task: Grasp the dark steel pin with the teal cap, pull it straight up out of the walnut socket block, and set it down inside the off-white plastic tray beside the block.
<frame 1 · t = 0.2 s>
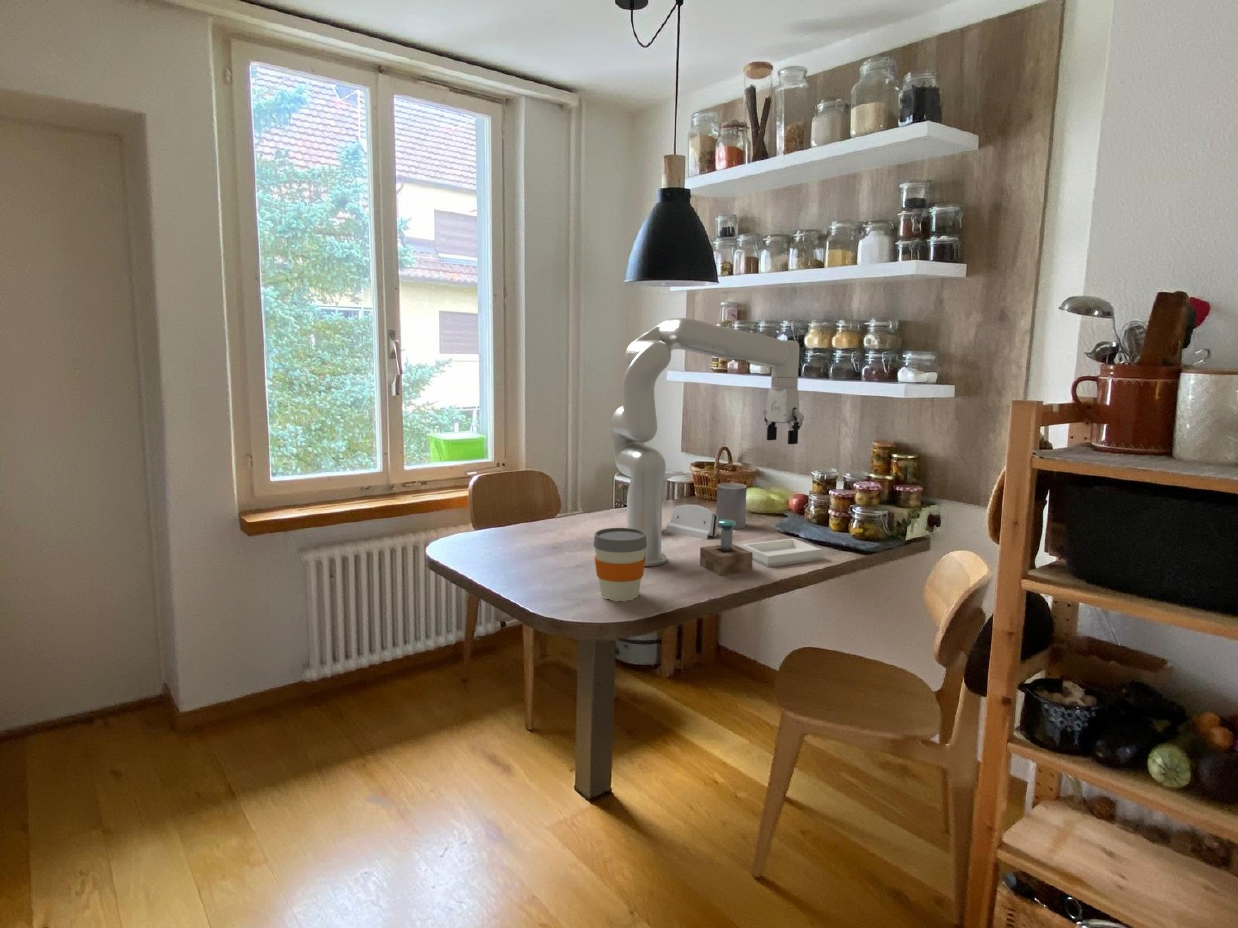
hand: (781, 442, 219), 31 cm above the table, fingers open, 9 cm apart
tray: (780, 557, 211), on the table
hinge: (692, 533, 238), on the table
steel pin: (726, 544, 199), in the socket block
pillar candle: (730, 526, 247), on the table
reusable coffee cup: (619, 595, 178), on the table
socket block: (725, 568, 200), on the table
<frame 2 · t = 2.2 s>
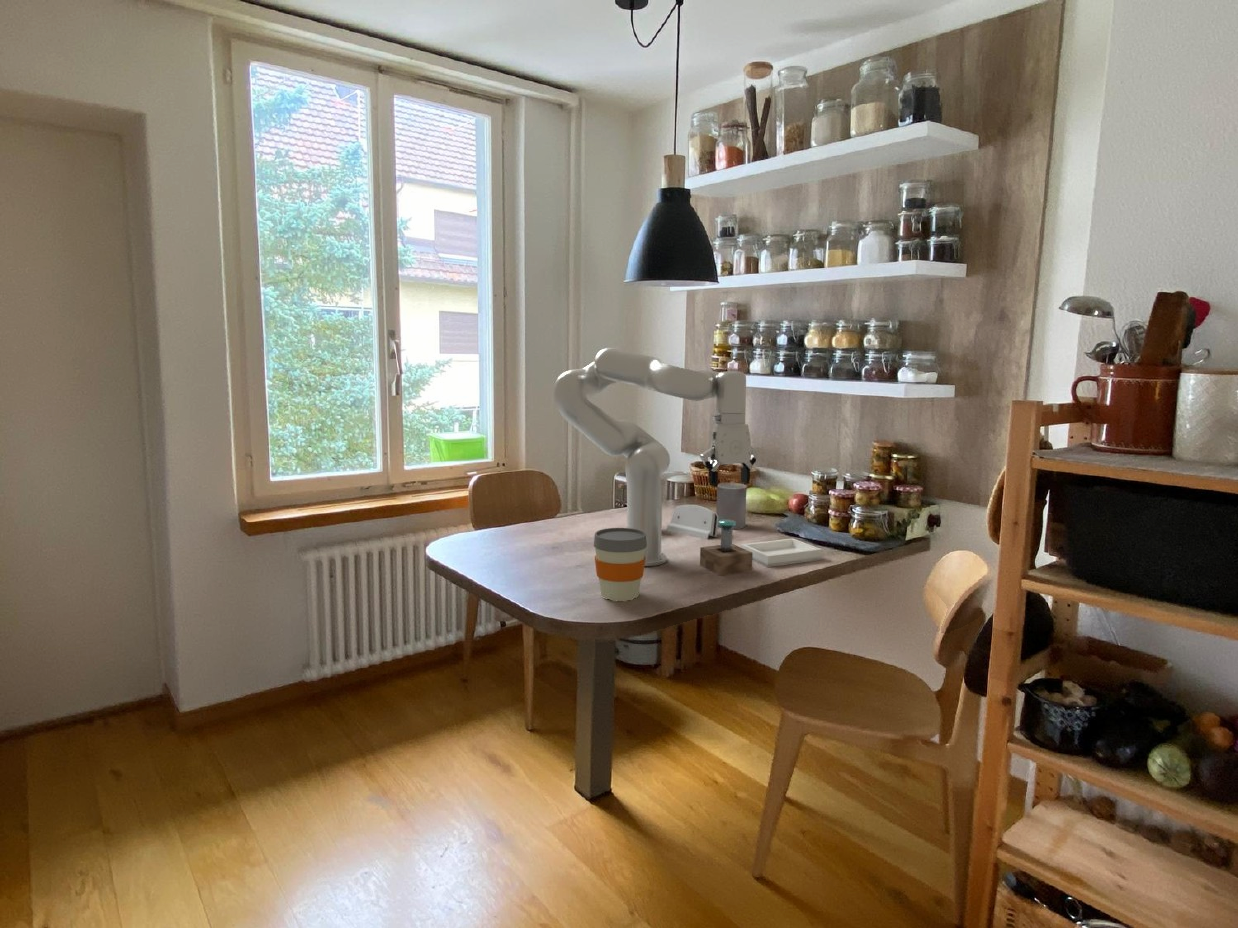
hand: (729, 484, 196), 23 cm above the table, fingers open, 9 cm apart
nothing on the table moved.
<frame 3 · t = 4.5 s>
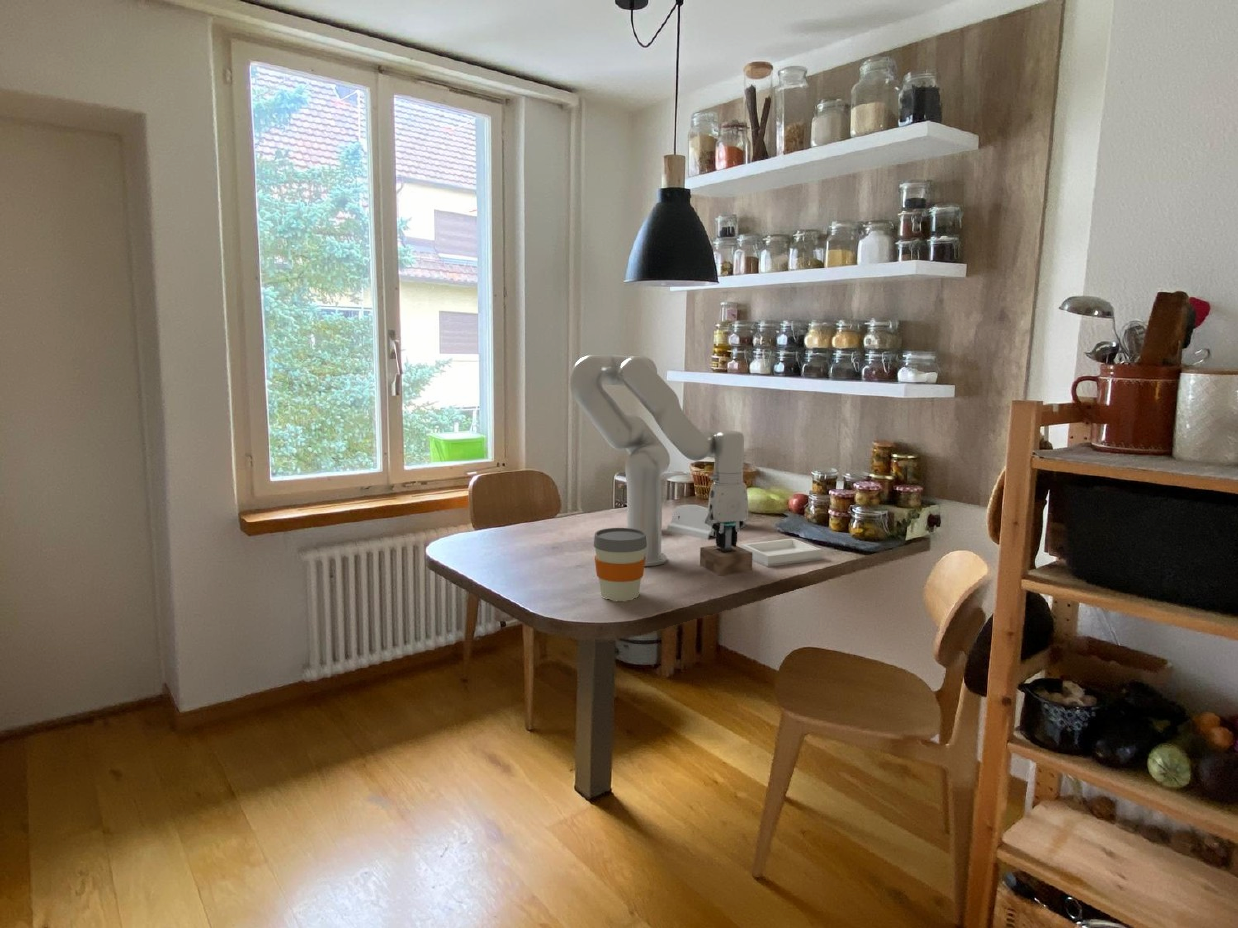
hand: (726, 545, 199), 6 cm above the table, fingers closed on steel pin, 3 cm apart
steel pin: (726, 544, 199), in the socket block, touching gripper
everything else where it was.
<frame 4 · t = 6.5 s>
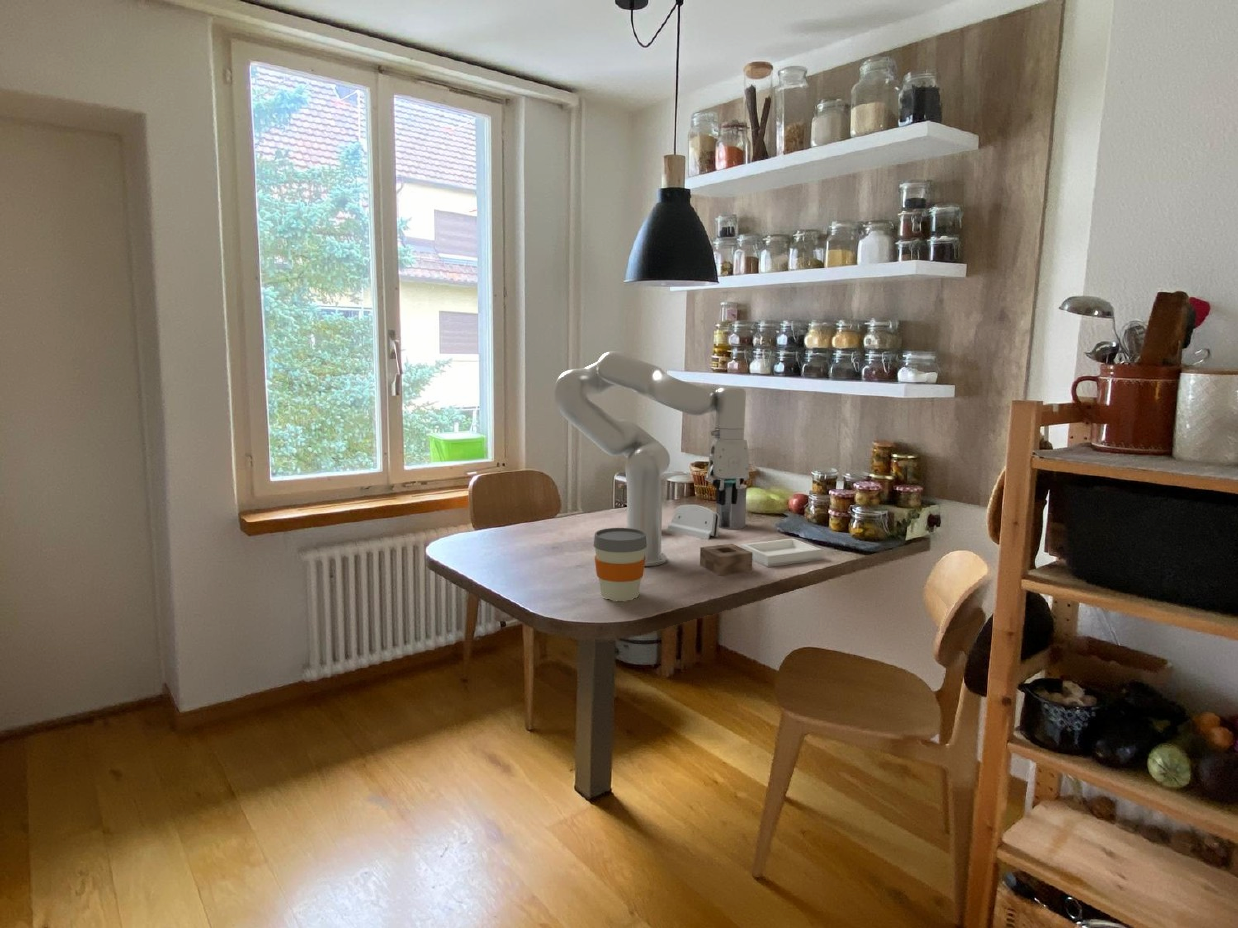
hand: (726, 503, 197), 18 cm above the table, fingers closed on steel pin, 3 cm apart
steel pin: (726, 502, 197), point 18 cm above the table, touching gripper
everything else where it was.
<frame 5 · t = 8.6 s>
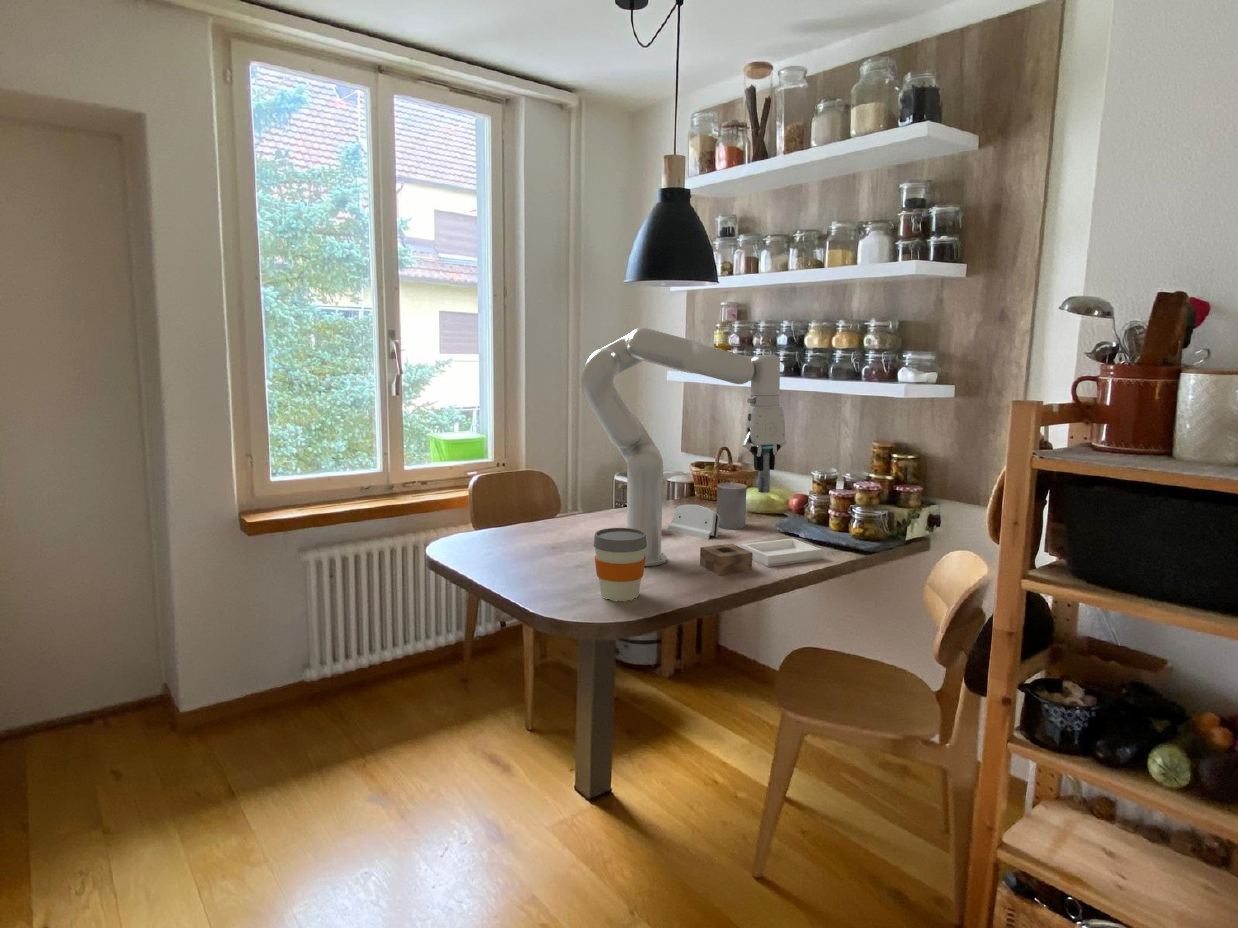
hand: (764, 469, 202), 26 cm above the table, fingers closed on steel pin, 3 cm apart
steel pin: (764, 468, 202), point 26 cm above the table, touching gripper
everything else where it was.
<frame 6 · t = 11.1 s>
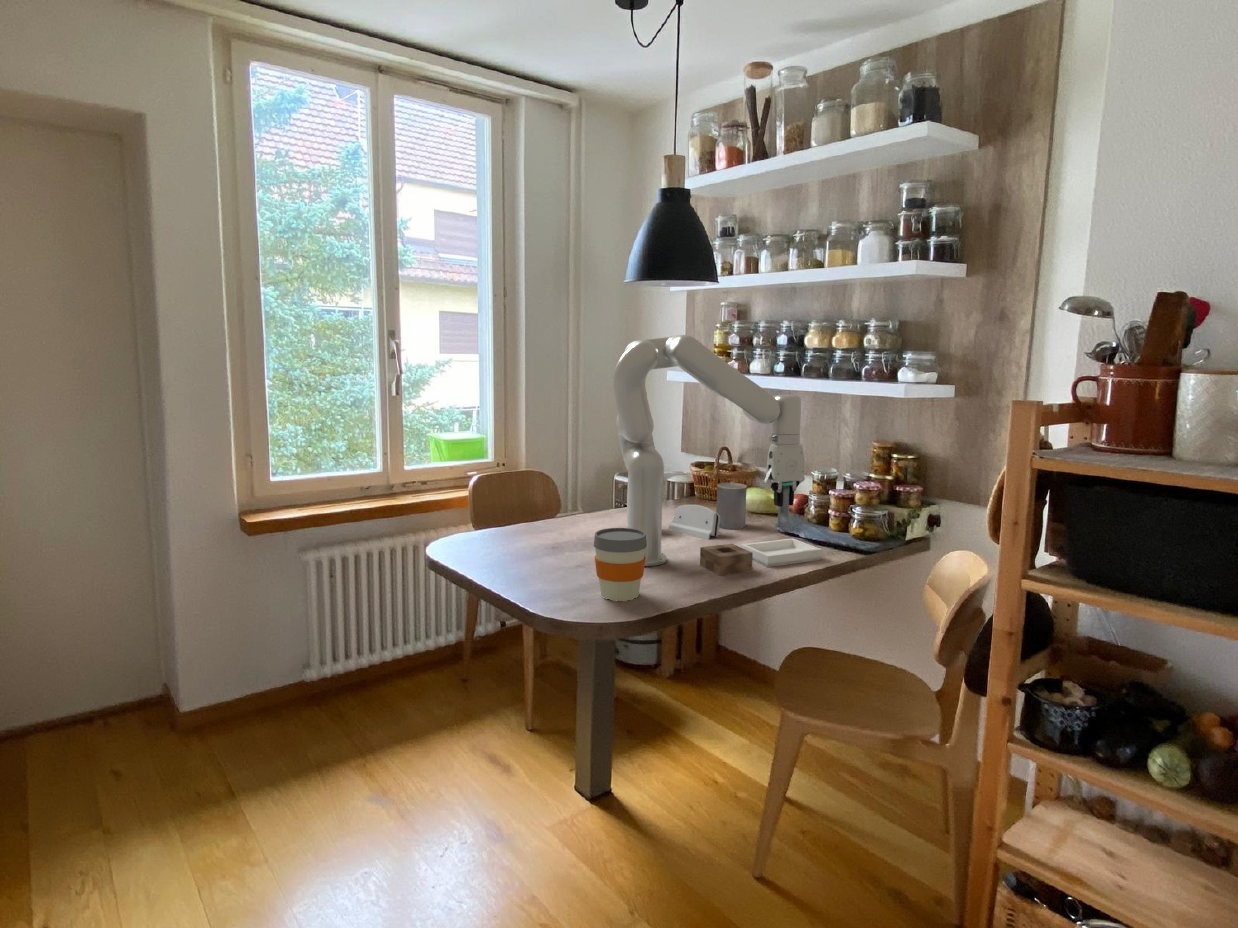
hand: (783, 504, 208), 15 cm above the table, fingers closed on steel pin, 3 cm apart
steel pin: (783, 503, 208), point 15 cm above the table, touching gripper
everything else where it was.
when the fingers open (8 cm above the table, at t = 12.8 s): steel pin stays where it is, resting on tray.
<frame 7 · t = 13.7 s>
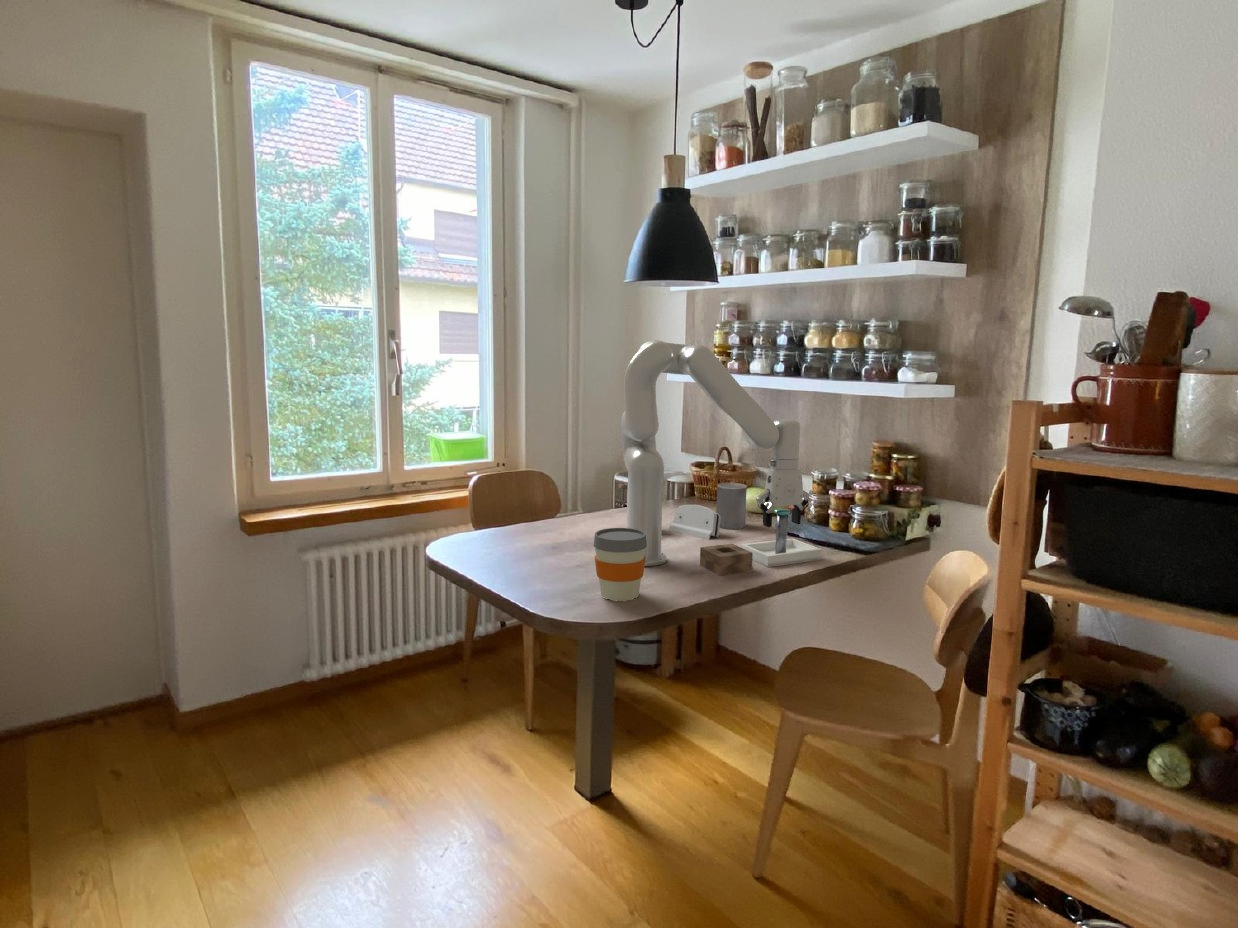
hand: (781, 524, 209), 9 cm above the table, fingers open, 9 cm apart
steel pin: (781, 532, 209), in the tray, point 7 cm above the table
everything else where it was.
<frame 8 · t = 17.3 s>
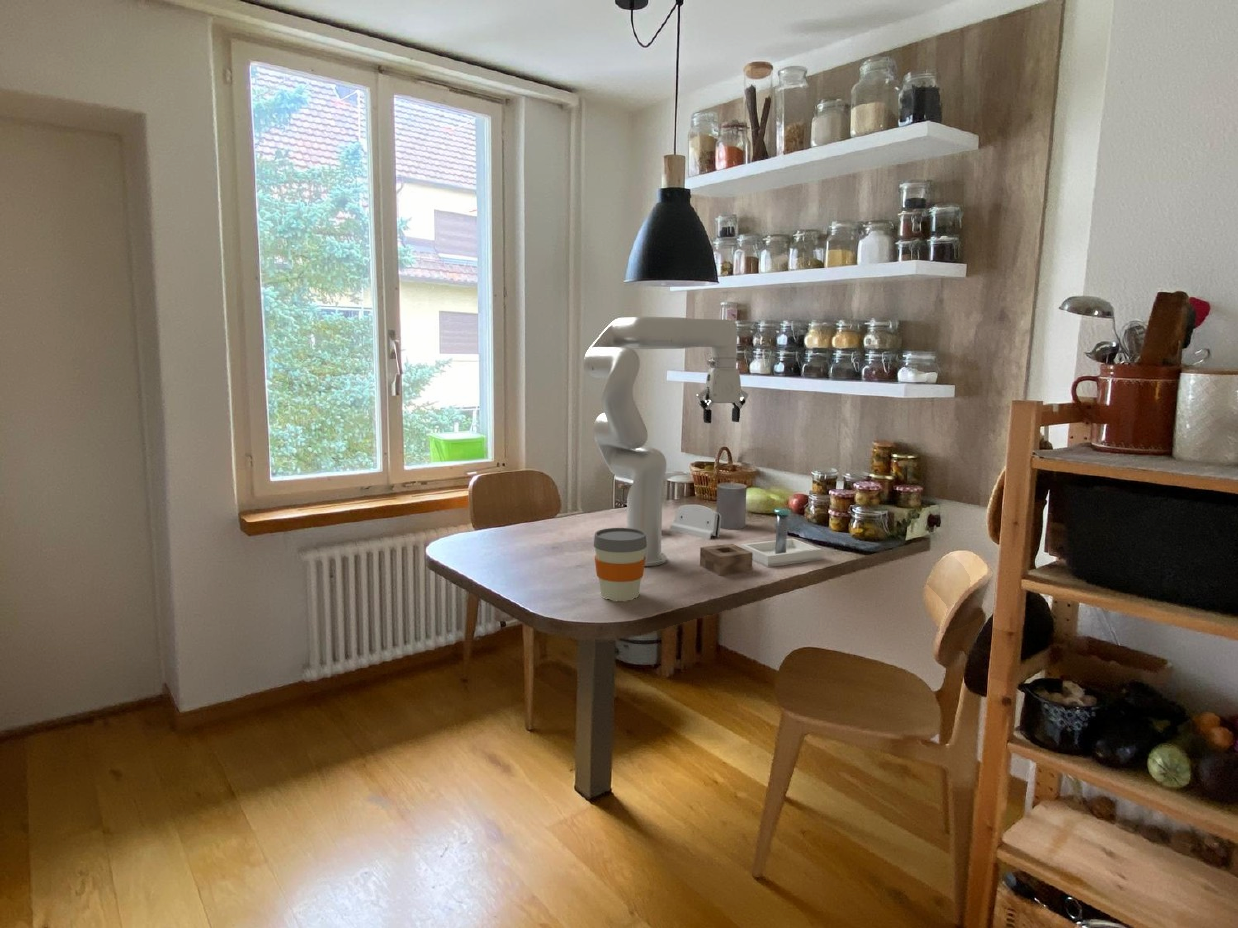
hand: (721, 422, 222), 36 cm above the table, fingers open, 9 cm apart
at the end: steel pin inside the target area on the tray (0.1 cm from its centre), point 7.2 cm above the tray's base; the gripper is holding nothing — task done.
